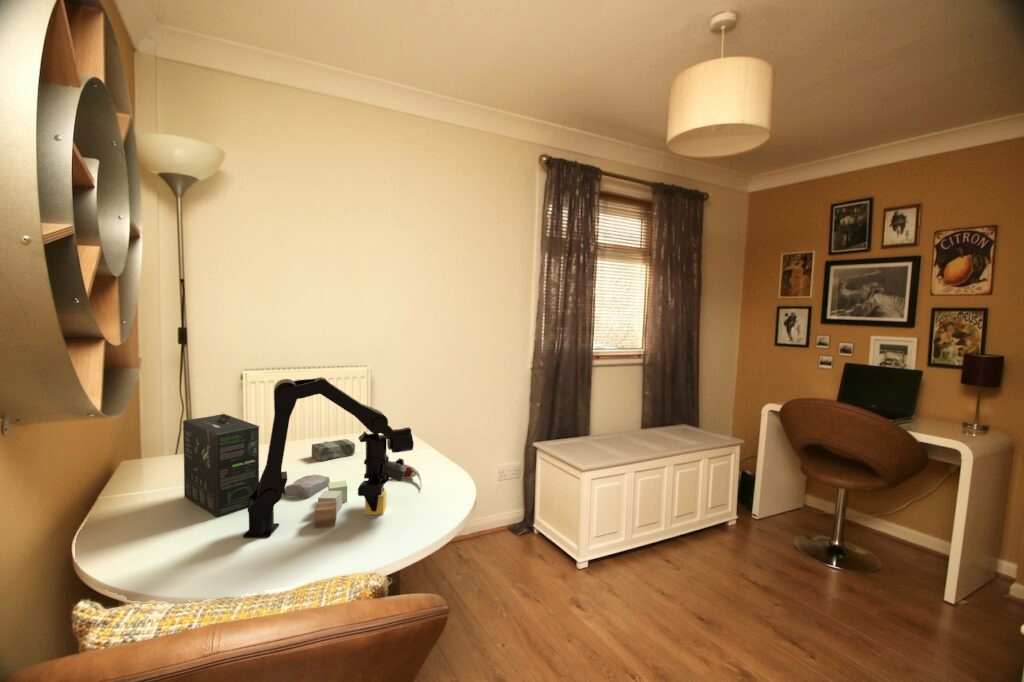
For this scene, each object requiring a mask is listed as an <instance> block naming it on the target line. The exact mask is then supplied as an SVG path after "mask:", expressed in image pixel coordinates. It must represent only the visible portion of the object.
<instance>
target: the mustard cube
mask: <svg viewBox="0 0 1024 682" xmlns="http://www.w3.org/2000/svg"><path fill="white" fill-rule="evenodd" d="M364 503H365V504H364V505H365V507H364V509H365V510H364V511H365V516H367V515H368V516H369V515H371V516H372V515H373V516H374V515H384V513H385V511H386V509H387V489H386V490H385V489H384V491H383V493H382V494H381V495H379V499H378V504H377V510H376V511H372V510H371V508H370V506H369V504H368V502H367V501H366V499H365V500H364Z"/></svg>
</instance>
